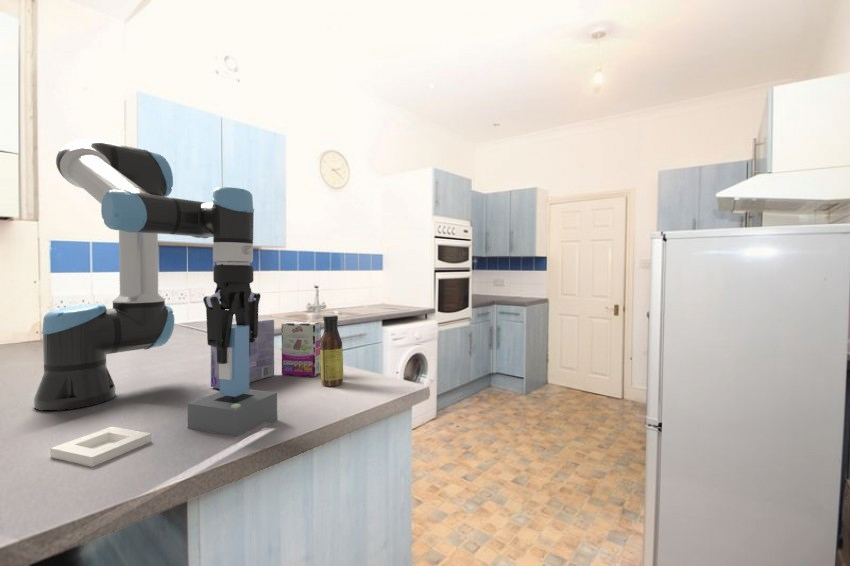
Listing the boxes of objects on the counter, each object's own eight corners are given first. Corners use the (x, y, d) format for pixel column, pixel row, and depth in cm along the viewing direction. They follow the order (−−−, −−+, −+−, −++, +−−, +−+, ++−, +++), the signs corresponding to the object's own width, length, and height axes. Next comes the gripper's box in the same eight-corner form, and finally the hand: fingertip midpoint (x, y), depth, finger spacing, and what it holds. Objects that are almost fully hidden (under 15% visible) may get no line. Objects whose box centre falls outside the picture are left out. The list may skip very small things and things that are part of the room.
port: (187, 433, 81) (187, 401, 81) (233, 413, 93) (232, 384, 92) (236, 441, 78) (236, 407, 77) (277, 419, 89) (277, 390, 89)
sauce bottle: (347, 383, 118) (348, 315, 117) (332, 388, 112) (332, 317, 112) (331, 379, 121) (331, 313, 120) (315, 384, 116) (315, 315, 115)
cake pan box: (267, 373, 128) (267, 317, 127) (278, 375, 126) (278, 318, 125) (208, 388, 111) (208, 324, 111) (219, 391, 109) (219, 325, 108)
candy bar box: (321, 373, 129) (321, 321, 128) (314, 377, 124) (314, 324, 123) (288, 371, 130) (288, 320, 130) (280, 375, 125) (280, 322, 125)
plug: (219, 394, 84) (219, 327, 83) (234, 389, 87) (233, 324, 87) (235, 396, 82) (234, 328, 82) (249, 391, 86) (249, 325, 86)
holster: (50, 462, 68) (50, 448, 68) (112, 439, 78) (112, 426, 78) (92, 472, 65) (92, 457, 65) (151, 446, 75) (150, 433, 75)
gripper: (215, 263, 75) (216, 389, 76) (275, 264, 91) (276, 368, 92) (183, 263, 77) (185, 385, 78) (248, 264, 93) (248, 365, 94)
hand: (234, 375), depth 85 cm, fingers closed on plug, 4 cm apart
